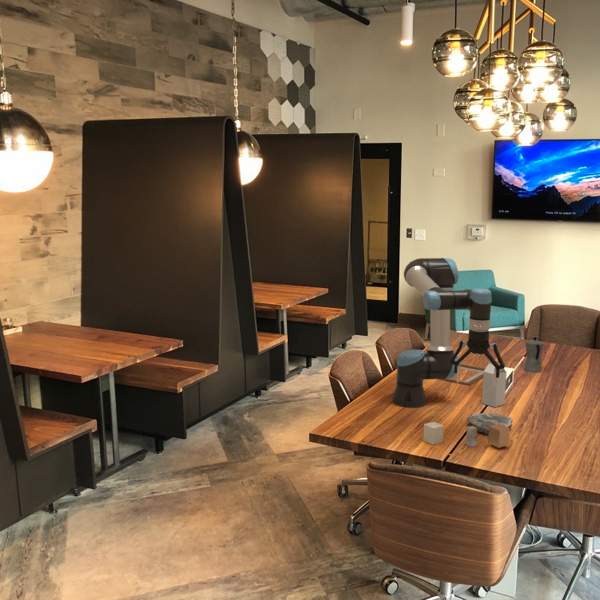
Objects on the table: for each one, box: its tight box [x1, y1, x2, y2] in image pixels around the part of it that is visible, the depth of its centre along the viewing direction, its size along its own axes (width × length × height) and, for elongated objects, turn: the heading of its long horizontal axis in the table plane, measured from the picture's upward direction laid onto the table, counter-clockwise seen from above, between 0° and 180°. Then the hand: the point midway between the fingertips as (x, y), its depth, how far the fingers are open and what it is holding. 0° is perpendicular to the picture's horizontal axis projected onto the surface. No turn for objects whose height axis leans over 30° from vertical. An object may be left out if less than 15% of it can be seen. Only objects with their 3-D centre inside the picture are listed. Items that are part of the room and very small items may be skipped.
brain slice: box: [466, 412, 514, 436], centre depth 270 cm, size 20×17×3 cm
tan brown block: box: [487, 424, 511, 449], centre depth 250 cm, size 5×5×8 cm
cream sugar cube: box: [422, 421, 444, 446], centre depth 254 cm, size 5×5×7 cm
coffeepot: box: [523, 336, 545, 373], centre depth 349 cm, size 15×9×18 cm, turn 175°
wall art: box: [437, 363, 486, 387], centre depth 347 cm, size 31×2×38 cm
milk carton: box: [481, 360, 507, 408], centre depth 296 cm, size 7×7×19 cm
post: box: [465, 425, 478, 448], centre depth 251 cm, size 3×3×7 cm
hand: (476, 383), depth 256 cm, fingers open, 13 cm apart
